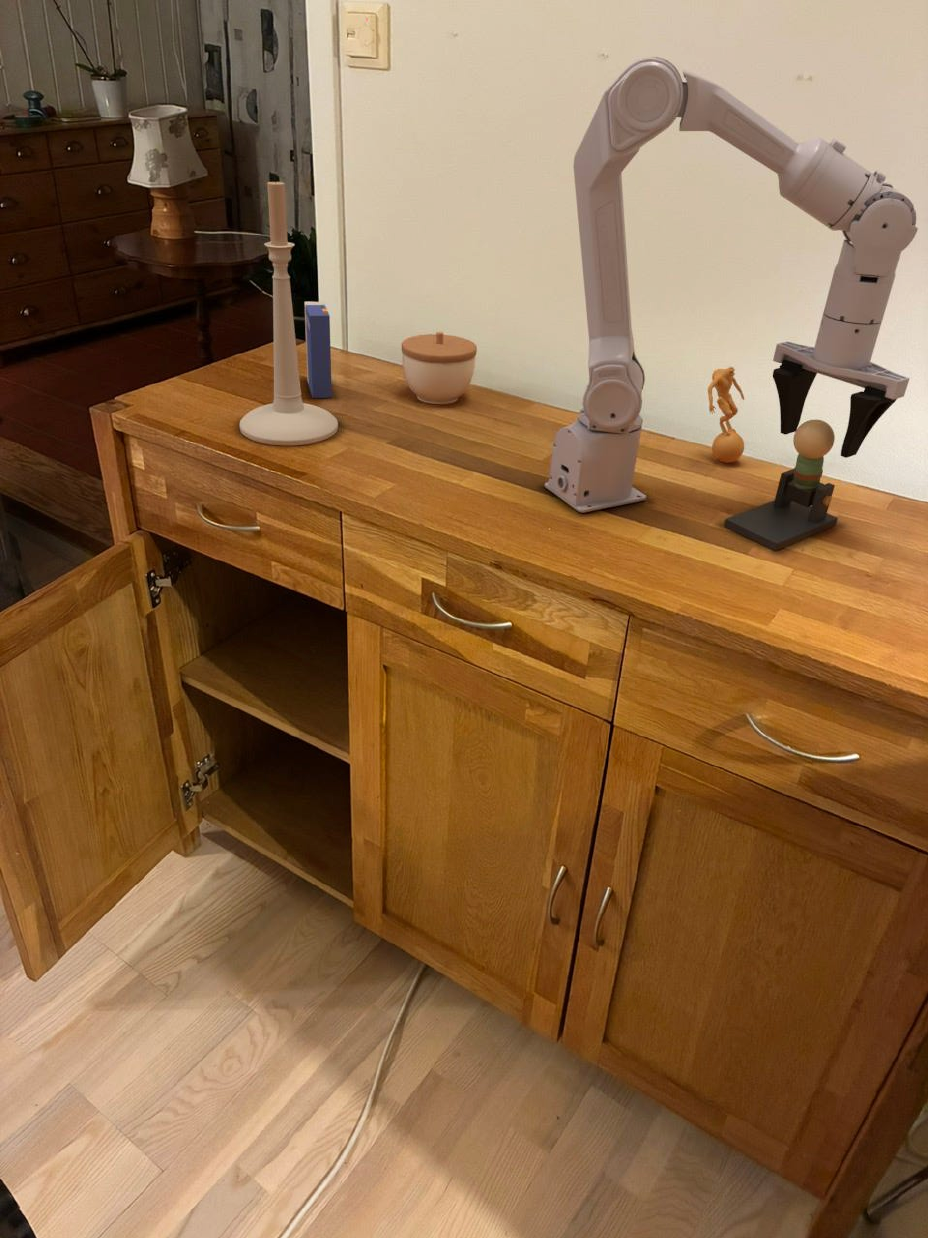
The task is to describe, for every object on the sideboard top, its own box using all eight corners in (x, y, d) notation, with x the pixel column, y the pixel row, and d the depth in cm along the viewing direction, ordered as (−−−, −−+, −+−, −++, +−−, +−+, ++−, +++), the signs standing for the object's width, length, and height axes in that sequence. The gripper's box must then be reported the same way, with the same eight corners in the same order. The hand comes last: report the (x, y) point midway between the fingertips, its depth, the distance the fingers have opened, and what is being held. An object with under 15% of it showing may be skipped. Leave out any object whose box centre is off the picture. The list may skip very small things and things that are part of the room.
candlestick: (294, 453, 114) (280, 189, 98) (219, 429, 119) (194, 176, 103) (357, 424, 123) (354, 179, 107) (284, 403, 129) (271, 167, 113)
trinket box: (473, 411, 130) (477, 345, 125) (398, 407, 130) (399, 341, 125) (474, 387, 139) (477, 324, 134) (403, 383, 139) (404, 320, 134)
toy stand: (775, 551, 98) (786, 509, 96) (723, 526, 103) (732, 485, 100) (836, 525, 104) (848, 485, 102) (784, 502, 109) (794, 463, 106)
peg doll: (807, 512, 102) (822, 434, 96) (776, 498, 104) (788, 421, 99) (830, 498, 104) (845, 420, 98) (799, 485, 106) (812, 409, 100)
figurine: (722, 474, 115) (743, 380, 109) (681, 460, 119) (698, 368, 112) (753, 457, 121) (775, 367, 114) (713, 444, 124) (731, 356, 118)
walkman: (332, 397, 132) (329, 312, 125) (312, 398, 131) (309, 312, 125) (325, 380, 138) (323, 298, 132) (307, 380, 138) (303, 298, 131)
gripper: (939, 329, 91) (897, 458, 98) (813, 296, 100) (783, 416, 107) (902, 338, 87) (861, 471, 94) (774, 303, 96) (746, 427, 103)
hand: (817, 443), depth 100 cm, fingers open, 7 cm apart
